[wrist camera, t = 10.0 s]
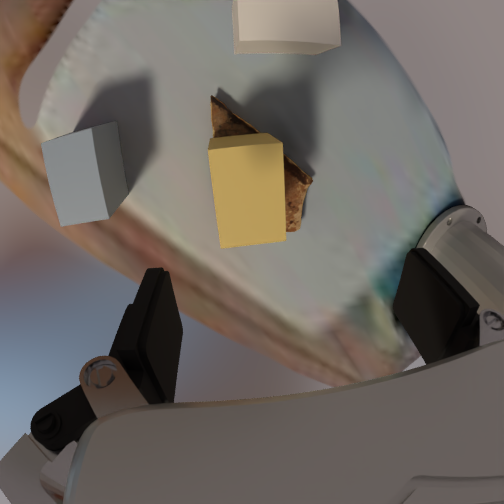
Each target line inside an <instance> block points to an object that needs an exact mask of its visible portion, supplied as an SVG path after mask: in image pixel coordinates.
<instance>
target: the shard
mask: <svg viewBox="0 0 504 504" xmlns="http://www.w3.org/2000/svg"><path fill="white" fill-rule="evenodd" d="M211 121H212V127H213V138H218V137H227V136H236V135H246V134H258V133H260V132H259V131H258V130H257V129H255V128H254V127H253V126H252V125H251V124H249V123H247V122H246V121H244V120H243V119H242V118H240V117H239V116H237V115H235V114H234V113H232V112H231V111H230V110H229V109H228V108H227V107H226V106H225V104H224V103H222V102H221V101H219V100H218V99H217V98H215V97H214V96H212V95H211ZM283 161H284V185H285V216H286V232H295V231H297V230H299V229H300V226H301V216H302V206H303V201H304V199H305V195H306V192H307V188H308V187H309V186H310V185H311V183H312V182H313V180H312V178H311V177H310V176H309V175H307V174H306V173H305V172H303V171H302V170H301V169H300V168H299V167H298V166H297V165H296V164H295V163H294V162H293V161H292V160H291V159H289V158H288V157H287V156H286V155H285V154H283Z"/></svg>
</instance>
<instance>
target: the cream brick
mask: <svg viewBox="0 0 504 504" xmlns="http://www.w3.org/2000/svg"><path fill="white" fill-rule="evenodd" d="M232 18H233V36H234V54H248V53H286V54H307V55H317V54H320V53H322V52H325V51H328V50H330V49H333V48H336V47H339V46H341V33H340V20H339V9H338V0H233V5H232Z"/></svg>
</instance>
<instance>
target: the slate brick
mask: <svg viewBox="0 0 504 504" xmlns="http://www.w3.org/2000/svg"><path fill="white" fill-rule="evenodd" d="M41 146H42V151H43V157H44V162H45V167H46V171H47V176H48V180H49V185H50V189H51V193H52V197H53V200H54V204H55V208H56V211H57V215H58V218H59V222H60V225H61V226H67V225H73V224H79V223H85V222H91V221H98V220H104V219H109V218H110V217H111V216H112V214H113V213H114V212H115V211H116V209H117V208H118V207H119V206H120V204H121V203H122V202H123V201H124V199H125V198H126V197H127V196H128V194H129V192H128V187H127V182H126V176H125V171H124V165H123V159H122V153H121V146H120V139H119V132H118V124H117V121H114V122H110V123H106V124H102V125H98V126H94V127H90V128H86V129H83V130H79V131H76V132H72V133H69V134H66V135H63V136H60V137H57V138H55V139H52V140H49V141H46V142H44V143H41Z"/></svg>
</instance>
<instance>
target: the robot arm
mask: <svg viewBox="0 0 504 504" xmlns="http://www.w3.org/2000/svg"><path fill="white" fill-rule="evenodd" d="M393 310H394V312H395V314H396V315H397V317H398V319H399V320H400V322H401V323H402V325H403V326H404V328H405V330H406V331H407V333H408V334H409V336H410V338H411V339H412V341H413V343H414V344H415V346H416V348H417V349H418V351H419V353H420V354H421V356H422V358H423V359H424V361H425V363H426V365H424V366H421V367H417V368H414V369H411V370H407V371H403V372H400V373H396V374H392V375H389V376H385V377H381V378H377V379H372V380H368V381H364V382H359V383H354V384H350V385H345V386H339V387H334V388H329V389H323V390H317V391H311V392H305V393H298V394H290V395H282V396H273V397H263V398H252V399H240V400H227V401H208V402H182V403H174V396H175V388H176V379H177V372H178V364H179V357H180V349H181V342H182V335H183V328H182V323H181V319H180V315H179V311H178V307H177V304H176V299H175V295H174V291H173V287H172V283H171V278H170V274H169V272H168V271H164V269H163V268H148V269H147V270H146V273H145V275H144V277H143V280H142V282H141V285H140V287H139V290H138V292H137V295H136V297H135V300H134V302H133V304H129V305H128V306H127V308H126V310H125V313H124V315H123V318H122V320H121V323H120V326H119V328H118V331H117V334H116V336H115V339H114V342H113V344H112V347H111V350H110V353H109V356H98V357H96V358H93V359H91V360H90V361H88V362H87V363H86V364H85V365H84V366H83V368H82V369H81V372H80V375H79V380H80V385H79V386H77V387H75V388H74V389H72V390H71V391H69V392H67V393H66V394H64V395H62V396H61V397H59V398H58V399H56V400H54V401H53V402H51V403H49V404H48V405H46V406H45V407H43V408H41V409H40V410H39V411H37V412H36V413H35V415H34V416H33V418H32V421H31V428H30V429H31V433H30V434H29V435H27V434H26V433H25V434H24V435H23V436H22V437H21V438H20V439H19V440H18V442H17V443H16V444H15V445H14V446H13V447H12V448H11V449H10V451H9V452H8V453H7V454H6V455H5V456H4V457H3V458H2V460H1V461H0V489H1V490H2V491H3V493H4V494H5V496H6V497H7V498H8V500H9V501H10V502H11V504H504V246H503V245H502V244H500V243H499V242H498V241H496V240H495V239H494V238H493V237H491V236H490V235H488V234H487V227H486V223H485V220H484V218H483V216H482V215H481V214H480V212H479V211H477V210H476V209H474V208H473V207H470V206H468V205H459V206H455V207H452V208H450V209H448V210H447V211H445V212H444V213H442V214H441V215H440V216H439V217H437V218H436V219H435V221H434V222H433V223H432V224H431V225H430V226H429V227H428V229H427V230H426V231H425V233H424V234H423V236H422V238H421V239H420V241H419V243H418V245H417V247H416V248H412V249H411V250H410V251H409V252H408V253H407V255H406V259H405V263H404V267H403V271H402V275H401V279H400V282H399V286H398V289H397V293H396V296H395V300H394V303H393Z"/></svg>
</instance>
